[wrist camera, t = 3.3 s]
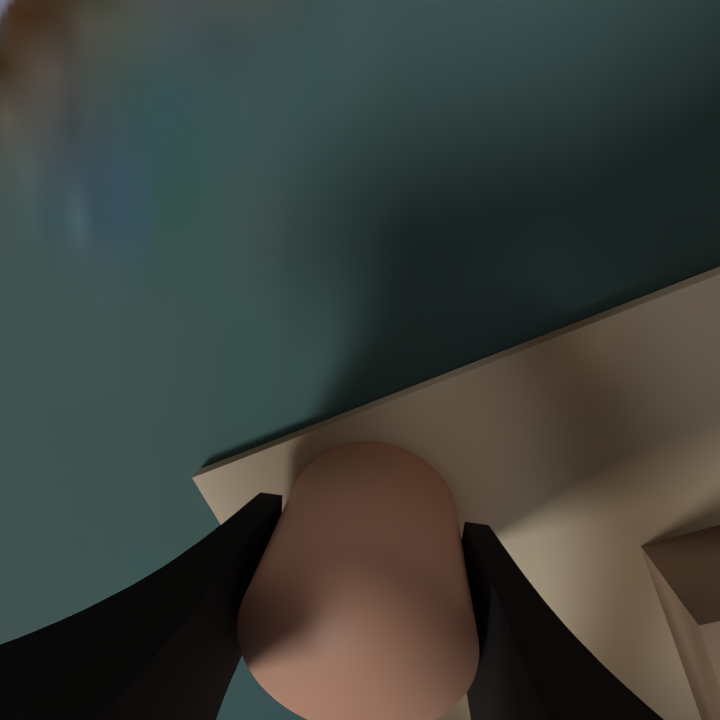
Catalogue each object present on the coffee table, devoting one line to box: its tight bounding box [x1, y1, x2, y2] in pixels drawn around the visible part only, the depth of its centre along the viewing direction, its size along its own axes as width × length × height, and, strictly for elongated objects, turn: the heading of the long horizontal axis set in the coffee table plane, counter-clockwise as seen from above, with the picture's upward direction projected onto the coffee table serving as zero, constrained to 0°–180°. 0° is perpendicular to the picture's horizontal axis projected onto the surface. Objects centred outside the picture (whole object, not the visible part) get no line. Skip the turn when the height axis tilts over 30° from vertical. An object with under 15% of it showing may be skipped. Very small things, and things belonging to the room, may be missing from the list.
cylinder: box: [237, 442, 479, 720], centre depth 10 cm, size 5×5×4 cm
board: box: [192, 266, 720, 720], centre depth 13 cm, size 20×15×1 cm
